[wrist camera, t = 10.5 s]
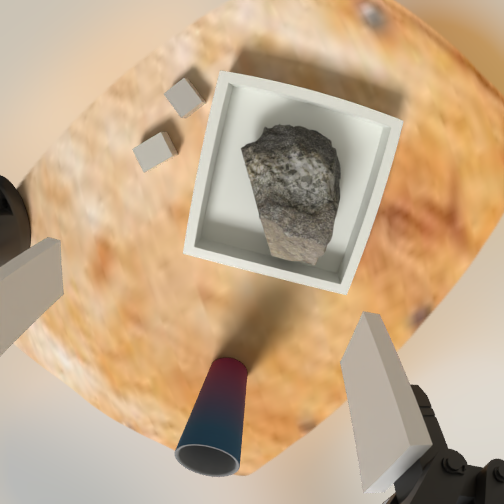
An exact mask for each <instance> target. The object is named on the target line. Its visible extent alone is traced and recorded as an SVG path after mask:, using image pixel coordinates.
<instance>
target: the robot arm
mask: <svg viewBox="0 0 504 504" xmlns="http://www.w3.org/2000/svg"><path fill="white" fill-rule="evenodd" d="M29 247H30V226H29V220H28V216H27V212H26V209H25V206H24V203H23V201H22V199H21V197H20V195H19V193H18V191H17V190H16V188H15V187H14V186H13V184H12V183H11V182H10V181H9V180H8V179H6V178H5V177H3V176H1V175H0V356H1V355H2V354H3V353H4V352H5V351H6V350H7V349H8V348H9V347H10V346H11V345H12V344H13V343H14V342H15V341H16V340H17V339H18V338H19V337H20V336H21V335H22V334H23V333H24V332H25V331H26V330H27V329H28V328H29V327H30V326H31V325H32V324H33V323H34V322H35V321H36V320H37V319H38V318H39V317H40V316H41V315H42V314H43V313H44V312H45V311H46V310H47V309H48V308H49V307H50V306H51V305H53V304H54V303H55V302H56V301H57V300H58V299H59V298H60V297H61V296H62V295H63V294H64V292H63V280H62V265H61V242H60V240H57V239H53V238H50V237H47V238H45V239H44V240H42V241H40V242H39V243H37V244H36V245H34V246H32V247H31V248H29ZM340 364H341V369H342V373H343V378H344V383H345V388H346V393H347V399H348V403H349V409H350V414H351V420H352V426H353V431H354V437H355V442H356V449H357V455H358V461H359V468H360V475H361V481H362V488H363V493H375V492H376V493H377V492H385V491H386V490H387V489H388V488H389V487H390V486H391V485H392V484H394V486H395V491H396V492H395V493H394V494H393V495H392V496H391V497H390V498H388V499H387V500H386V501H385V502H383V503H382V504H504V461H503V460H501V459H494V460H491V461H490V462H489V463H488V464H487V465H486V466H485V467H484V468H482V467H477V466H471V465H467V462H466V460H465V459H464V457H463V456H462V455H461V454H459V453H458V452H457V451H455V450H452V449H448V447H447V444H446V441H445V439H444V436H443V434H442V431H441V428H440V426H439V423H438V421H437V418H436V417H435V414H434V411H433V409H432V408H431V404H430V402H429V399H428V397H427V395H426V394H425V393H424V392H423V390H422V389H421V388H420V387H419V386H418V385H410V383H409V381H408V378H407V376H406V374H405V371H404V369H403V366H402V364H401V361H400V359H399V357H398V354H397V352H396V350H395V348H394V345H393V343H392V341H391V338H390V336H389V334H388V332H387V330H386V327H385V325H384V323H383V321H382V319H381V316H380V314H375V313H369V312H364V311H363V313H362V315H361V317H360V320H359V322H358V324H357V327H356V329H355V331H354V333H353V336H352V338H351V340H350V342H349V344H348V347H347V349H346V351H345V353H344V355H343V357H342V359H341V361H340Z"/></svg>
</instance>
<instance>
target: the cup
mask: <svg viewBox="0 0 504 504" xmlns="http://www.w3.org/2000/svg"><path fill="white" fill-rule="evenodd" d="M246 383H247V369H246V367H245V366H244V365H243V364H242V363H241V362H240V361H238V360H236V359H233V358H219V359H217V360H215V361H214V362H213V363H212V365H211V367H210V369H209V372H208V374H207V377H206V379H205V381H204V384H203V386H202V389H201V391H200V393H199V396H198V398H197V400H196V403H195V405H194V408H193V410H192V412H191V415H190V417H189V419H188V422H187V424H186V427H185V429H184V431H183V434H182V436H181V438H180V441H179V443H178V446H177V448H176V450H175V457H176V459H177V461H178V462H179V463H180V464H181V465H183V466H184V467H185V468H187V469H189V470H191V471H193V472H195V473H199V474H202V475H206V476H212V477H224V476H229V475H232V474H234V473H236V472H237V471H238V470H239V467H240V456H241V444H242V432H243V420H244V408H245V396H246Z"/></svg>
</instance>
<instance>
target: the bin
mask: <svg viewBox="0 0 504 504" xmlns="http://www.w3.org/2000/svg"><path fill="white" fill-rule="evenodd" d="M279 124H280V125H291V126H293V127H295V126H302V127H305V128H307V129H309V130H316V131H318V133H321V134H322V135H323V136H325V137H327V138H328V139H330V140H331V142H332V147H333V148H335V149H336V151H337V156H338V160H339V162H340V168H341V170H340V171H341V178H340V184H339V187H340V201H339V207H338V211H337V215H336V218H335V222H334V228H333V235H332V239H331V241H330V242H329V243H328V244H327V248H326V251H325V253H324V254H323V256H320V257H319V258H318V261H317V263H316V265H312V264H309V263H306V262H302V261H289V260H285V259H282V258H278V257H275V256H272V255H271V252H270V249H269V246H268V243H267V239H266V236H265V233H264V229H263V226H262V223H261V220H260V219H259V213H258V209H257V205H256V201H255V198H254V194H253V190H252V186H251V183H250V179H249V177H248V172H247V169H246V166H245V165H244V164H245V162H244V159H243V155H242V151H241V148H242V147H244V146H245V145H246V144H248V143H251V142H255V141H257V140H258V139H259V138H260V137H261V135H262V133H263V130H264V127H267V128H273V126H275V125H279ZM402 125H403V121H402V120H400V119H397V118H395V117H392V116H390V115H387V114H384V113H382V112H379V111H376V110H373V109H370V108H368V107H365V106H362V105H359V104H356V103H353V102H350V101H346V100H343V99H340V98H337V97H334V96H330V95H327V94H323V93H320V92H316V91H313V90H309V89H305V88H301V87H298V86H294V85H290V84H285V83H281V82H277V81H272V80H268V79H263V78H259V77H254V76H249V75H243V74H238V73H232V72H226V71H220V73H219V77H218V81H217V85H216V89H215V93H214V97H213V101H212V106H211V110H210V114H209V119H208V123H207V128H206V132H205V137H204V142H203V146H202V151H201V156H200V161H199V166H198V171H197V176H196V181H195V186H194V192H193V197H192V203H191V208H190V214H189V220H188V225H187V231H186V237H185V244H184V250H183V254H186V255H190V256H194V257H198V258H201V259H205V260H209V261H213V262H217V263H220V264H224V265H228V266H232V267H236V268H240V269H244V270H248V271H251V272H255V273H259V274H263V275H267V276H271V277H275V278H279V279H283V280H287V281H291V282H295V283H299V284H303V285H307V286H311V287H315V288H319V289H323V290H327V291H331V292H336V293H340V294H344V295H347V293H348V290H349V288H350V285H351V283H352V280H353V277H354V275H355V272H356V270H357V267H358V264H359V262H360V259H361V256H362V254H363V251H364V248H365V245H366V243H367V240H368V237H369V234H370V231H371V228H372V225H373V223H374V220H375V217H376V214H377V211H378V208H379V205H380V201H381V198H382V195H383V192H384V189H385V186H386V182H387V179H388V176H389V172H390V169H391V166H392V162H393V159H394V155H395V152H396V148H397V144H398V141H399V137H400V133H401V129H402Z"/></svg>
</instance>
